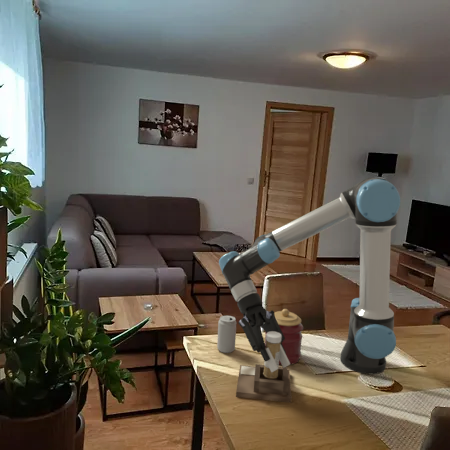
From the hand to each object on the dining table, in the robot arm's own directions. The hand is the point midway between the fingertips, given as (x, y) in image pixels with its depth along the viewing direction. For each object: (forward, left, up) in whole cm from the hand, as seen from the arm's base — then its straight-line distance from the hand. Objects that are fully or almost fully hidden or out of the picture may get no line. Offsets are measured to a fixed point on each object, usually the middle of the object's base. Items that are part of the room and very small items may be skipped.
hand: (280, 368), depth 125 cm
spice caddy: (+4, -5, -9) cm, 11 cm away
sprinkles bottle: (+3, -3, -4) cm, 6 cm away
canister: (-2, -25, -9) cm, 26 cm away
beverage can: (+18, -26, -9) cm, 33 cm away
